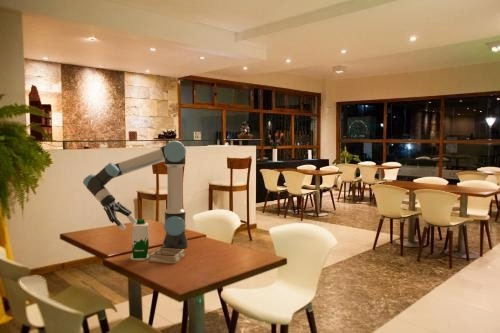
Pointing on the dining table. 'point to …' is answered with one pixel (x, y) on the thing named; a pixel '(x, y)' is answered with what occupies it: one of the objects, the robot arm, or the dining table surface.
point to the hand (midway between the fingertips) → (130, 226)
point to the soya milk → (140, 239)
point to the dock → (158, 257)
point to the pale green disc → (139, 258)
